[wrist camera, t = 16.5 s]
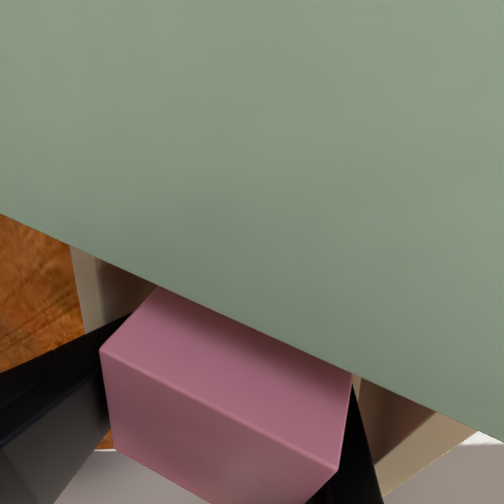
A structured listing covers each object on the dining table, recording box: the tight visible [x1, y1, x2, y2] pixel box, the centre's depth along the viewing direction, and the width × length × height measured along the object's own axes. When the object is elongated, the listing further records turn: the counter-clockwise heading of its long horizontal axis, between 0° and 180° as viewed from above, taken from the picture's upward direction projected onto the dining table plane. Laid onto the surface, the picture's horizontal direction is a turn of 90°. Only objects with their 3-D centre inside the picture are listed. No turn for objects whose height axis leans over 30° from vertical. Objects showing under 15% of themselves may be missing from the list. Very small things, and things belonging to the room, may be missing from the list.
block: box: [99, 286, 353, 504], centre depth 8 cm, size 4×4×4 cm
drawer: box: [69, 245, 478, 498], centre depth 11 cm, size 18×10×7 cm, turn 168°
